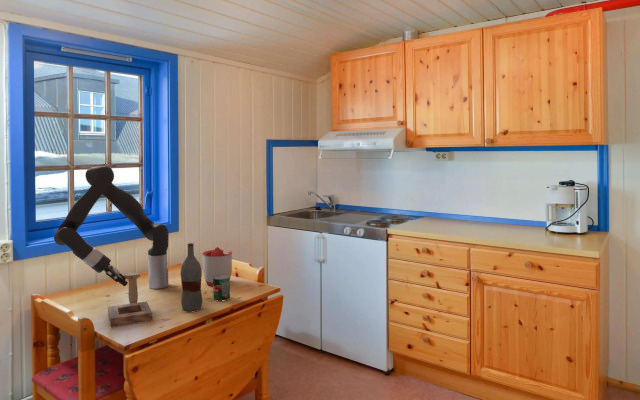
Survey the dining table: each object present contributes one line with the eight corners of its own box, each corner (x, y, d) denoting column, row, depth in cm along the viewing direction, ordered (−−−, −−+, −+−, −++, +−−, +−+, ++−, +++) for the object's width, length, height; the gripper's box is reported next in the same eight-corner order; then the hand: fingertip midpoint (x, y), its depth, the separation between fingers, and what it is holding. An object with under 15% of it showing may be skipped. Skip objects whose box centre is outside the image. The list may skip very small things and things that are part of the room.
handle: (126, 304, 214) (125, 273, 212) (141, 303, 216) (140, 272, 214) (125, 308, 209) (124, 275, 208) (140, 306, 211) (139, 274, 210)
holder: (147, 308, 209) (146, 301, 208) (152, 320, 195) (152, 312, 194) (108, 314, 201) (108, 306, 201) (110, 327, 187) (110, 318, 187)
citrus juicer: (240, 281, 253) (240, 245, 250) (217, 289, 238) (217, 251, 236) (220, 277, 261) (219, 242, 259) (196, 284, 246) (195, 247, 244)
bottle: (188, 314, 203) (187, 246, 199) (177, 309, 209) (175, 243, 206) (206, 308, 210) (205, 243, 206) (195, 304, 216) (193, 240, 212)
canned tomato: (233, 297, 226) (232, 275, 225) (224, 302, 219) (224, 279, 218) (218, 295, 229) (218, 273, 228) (210, 300, 221) (209, 277, 220)
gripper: (103, 257, 198) (133, 279, 205) (101, 250, 211) (129, 272, 217) (90, 270, 196) (120, 293, 203) (89, 263, 209) (118, 284, 215)
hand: (125, 282), depth 210 cm, fingers open, 8 cm apart
